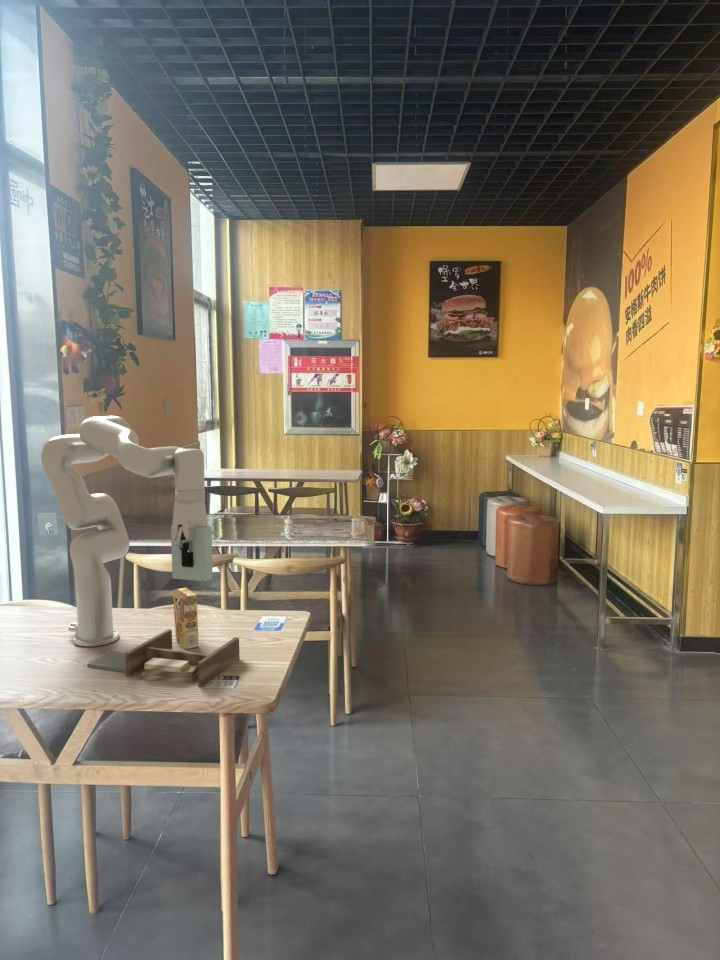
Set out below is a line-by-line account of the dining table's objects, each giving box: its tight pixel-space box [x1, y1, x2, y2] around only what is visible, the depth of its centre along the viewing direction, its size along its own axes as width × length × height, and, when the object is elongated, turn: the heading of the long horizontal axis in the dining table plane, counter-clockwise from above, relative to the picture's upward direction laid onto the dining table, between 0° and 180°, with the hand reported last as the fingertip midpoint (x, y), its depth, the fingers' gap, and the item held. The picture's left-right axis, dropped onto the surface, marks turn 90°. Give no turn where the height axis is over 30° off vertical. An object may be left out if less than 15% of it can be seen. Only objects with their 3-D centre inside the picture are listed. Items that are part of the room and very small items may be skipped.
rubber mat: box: [86, 650, 126, 673], centre depth 191 cm, size 13×10×1 cm
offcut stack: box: [139, 658, 198, 684], centre depth 181 cm, size 14×5×4 cm, turn 79°
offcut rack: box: [125, 629, 241, 688], centre depth 187 cm, size 22×19×6 cm
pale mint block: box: [170, 525, 213, 582], centre depth 189 cm, size 10×4×14 cm, turn 72°
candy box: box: [172, 587, 199, 650], centre depth 204 cm, size 9×4×15 cm, turn 33°
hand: (191, 564), depth 190 cm, fingers closed on pale mint block, 3 cm apart
